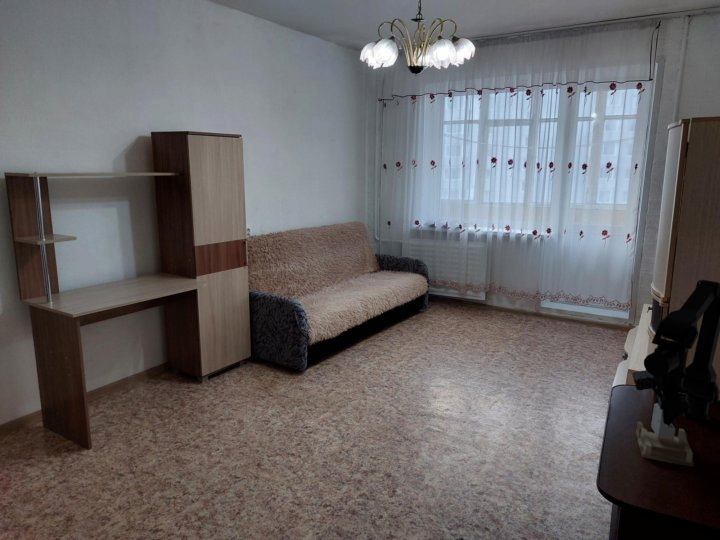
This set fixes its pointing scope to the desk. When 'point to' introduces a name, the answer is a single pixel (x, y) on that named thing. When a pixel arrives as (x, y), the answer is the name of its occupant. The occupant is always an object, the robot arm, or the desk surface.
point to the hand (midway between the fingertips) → (663, 420)
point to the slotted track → (664, 447)
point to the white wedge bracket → (661, 424)
